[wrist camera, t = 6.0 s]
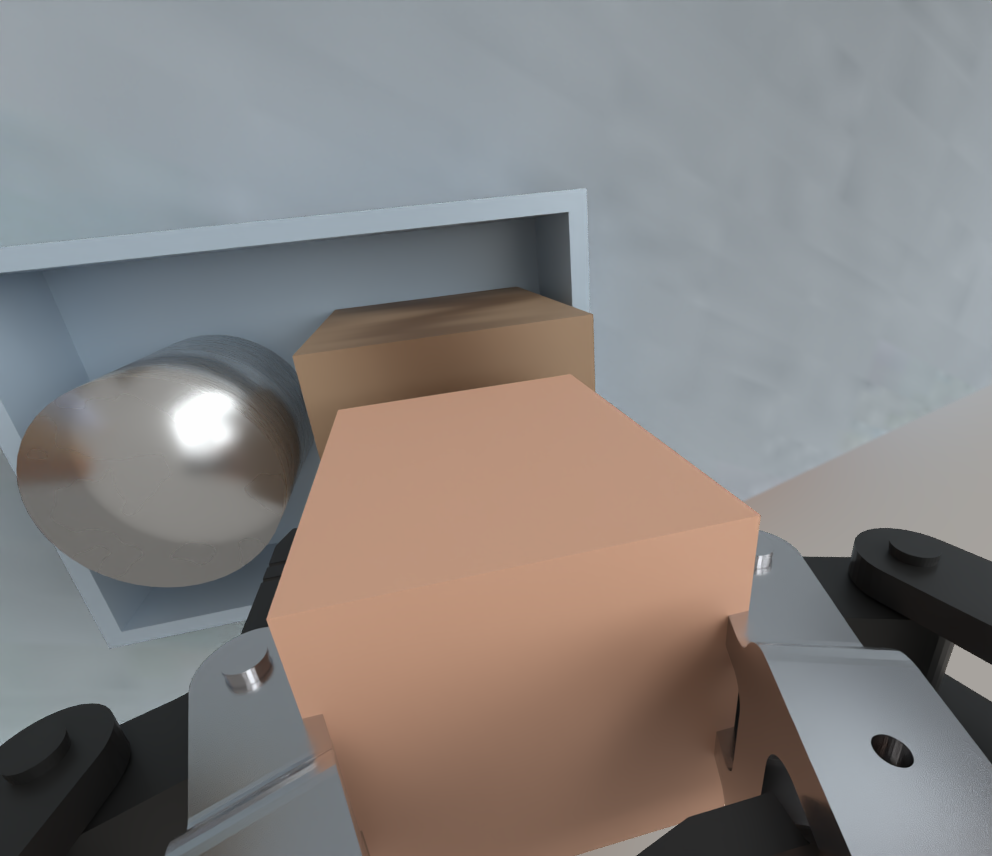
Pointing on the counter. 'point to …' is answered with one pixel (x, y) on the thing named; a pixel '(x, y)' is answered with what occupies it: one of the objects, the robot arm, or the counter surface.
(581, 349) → the walnut block
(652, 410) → the counter surface
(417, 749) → the peach rectangular block
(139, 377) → the grey tin
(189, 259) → the tote
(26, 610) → the counter surface
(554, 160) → the counter surface
